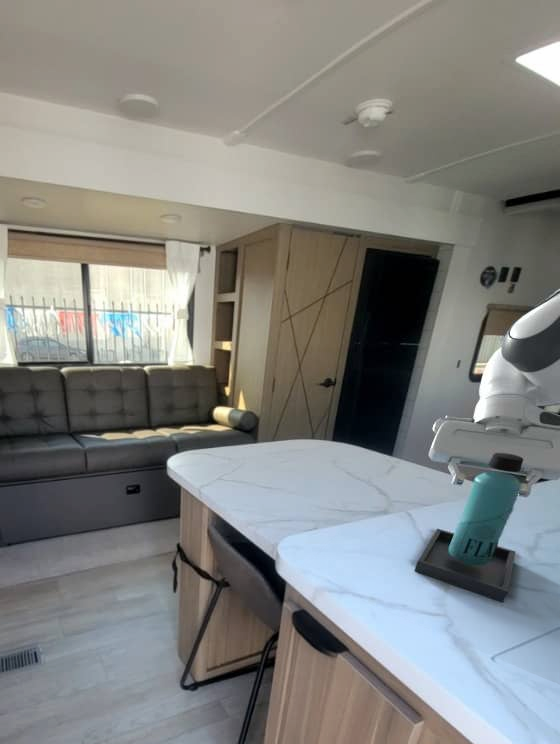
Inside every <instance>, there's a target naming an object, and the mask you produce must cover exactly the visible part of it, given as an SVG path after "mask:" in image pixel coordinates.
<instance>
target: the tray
mask: <svg viewBox="0 0 560 744" xmlns="http://www.w3.org/2000/svg"><path fill="white" fill-rule="evenodd" d="M453 534H454V532H452V531H448V530H445V529H440V528H436V530H435V532H434V533H433V535H432V537H431V538H430V540H429V542H428V543H427V545H426V546H425V548H424V550H423V552H422V553H421V555H420V557H419V558H418V560H417V562H416V565H415V567H414V572H416V573H419V574H422V575H425V576H428V577H430V578H433V579H435V580H439V581H441V582H444V583H447V584H450V585H453V586H455V587H458V588H461V589H464V590H467V591H469V592H472V593H475V594H477V595H481V596H484V597H486V598H489V599H491V600H495V601H498V602H500V603H504V601H505V599H506V597H507V595H508V593H509V589H510V584H511V579H512V574H513V573H512V572H513V567H514V562H515V557H516V551H515V550H512V549H509V548H505V547H502V546H500V545H499V546H497V548H495V549H496V550H494V552H495V553H494V552H493V555H492V557H491V559H492V560H491V559H490V560H491V561H489V562H488V563H487V564H485V565H473V564H468V563H465V562H462V561H460V560H458V559H456V558H454V557H453V556H452V555H450V553H449V546H450V545H449V544H450V543H451V541H452V538H453Z"/></svg>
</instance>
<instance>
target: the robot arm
mask: <svg viewBox="0 0 560 744" xmlns="http://www.w3.org/2000/svg"><path fill="white" fill-rule="evenodd" d="M478 396H479V399H478V401H477V403H476V405H475V408H474V412H473V417H472V418H470V417H469V418H468V417H456V416H452V415H446V416H445V417H441V418H438V419H436V421H434V424H433V427H432V432H433V434H434V438H433V441H432V443H431V446H430V448H429V451H428V457H429V459H430V460H431V461H432V462H437V463H445V464H448V466H447V469H448V471H449V472H450V474H451V477H452V481H451V485H454V486H459V487H461V486H462V485H463V484H464V482H465V477H466V473H463V472H461V471H460V469H459V466H463V467H469V468H475V469H481V470H487V471H492V472H501V473H505V474H514V475H518V476H525V477H526V479H525V480H526V481H528V482H527V483H524V482H520V484H521V486H522V488H521V490H520V491H519V494H518V496H517V497H522V498H528V497H529V496H530V495H531V492H532V487H533V486H534V485H535V484H536V483H537V482H538V481H539V480H540V479H543V480H550V481H558V480H560V414H557V413H554V412H551V411H549V410H547V409H543V408H541V407H550V406H557V405H560V287H559V288H558V289H557V290H556V291H554V292H553V293H551V295H549V296H548V297H547V298H545V299H544V300H543V301H541V302H540V303H539V304H537V305H535V306H534V307H532V308H531V309H529V310H528V311H526V312H525V313H524V314H522V315H521V316H520V317H519V318H517V319H516V320H515V321H514V322H513V323H512V324H511V326H510V327H509V329H508V330H507V332H506V333H505V336H504V338H503V341H502V346H501V347H499V348H498V349H497V350H496V351H494V353H493V354H492V355H491V357H490V358H489V360H488V361H487V363H486V364H485V367H484V371H483V373H482V376H481V379H480V384H479V389H478ZM494 453H507V454H513V455H517V456H520V457H522V458H523V463H522V466H521V470H520V471H519V472H508V471H502V470H498V469H495V468H492V467H490V466H489V465H488V464H489V461H490V460H491V458H492V456H493V454H494Z"/></svg>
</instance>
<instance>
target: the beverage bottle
mask: <svg viewBox="0 0 560 744" xmlns="http://www.w3.org/2000/svg"><path fill="white" fill-rule="evenodd" d="M522 463H523V458H522V457H520V456H517V455H513V454H507V453H494V454H493V456H492V458H491V460H490V461H489V464H488V465H489V466H490V467H492V468H495V469H498V470H502V471H508V472H519V471H520V470H521V466H522ZM521 488H522V486H521V482H520V480H519V479H518V478H517V477H515V476H513V475H511V474H509V473H505V472H499V471H493V470H488V471H485V472H482V473H481V474H478V475H476V476H475V477H474V480H473V484H472V487H471V489H470V492H469V494H468V497H467V500H466V503H465V505H464V508H463V511H462V513H461V515H460V517H459V519H458V523H457V524H456V527H455V529H454V532H453V533H454V534H453V538H452V541H451V543H450V544H449V545H450V546H449V553H450V555H452V556H453V557H454V558H456V559H458V560H460V561H462V562H465V563H468V564H473V565H485V564H487V563H488V562H489V561H491V560H492V559H491V557H492V555H493V552H494V550H496V549H495V548H497V546H498V545H499V542H500V538H501V537H502V535H503V532H504V530H505V527H506V525H507V523H508V521H509V520H510V518H511V515H512V513H513V511H514V509H515V504H516V502H517V501H518V497H519V496H518V494H519V491H520V490H521ZM494 553H495V552H494ZM490 559H491V560H490Z"/></svg>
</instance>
